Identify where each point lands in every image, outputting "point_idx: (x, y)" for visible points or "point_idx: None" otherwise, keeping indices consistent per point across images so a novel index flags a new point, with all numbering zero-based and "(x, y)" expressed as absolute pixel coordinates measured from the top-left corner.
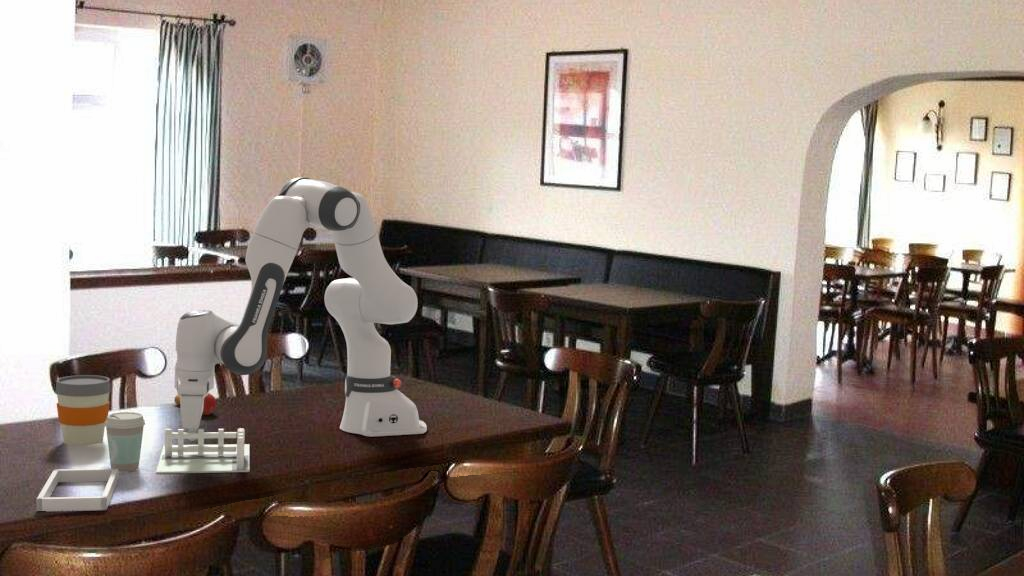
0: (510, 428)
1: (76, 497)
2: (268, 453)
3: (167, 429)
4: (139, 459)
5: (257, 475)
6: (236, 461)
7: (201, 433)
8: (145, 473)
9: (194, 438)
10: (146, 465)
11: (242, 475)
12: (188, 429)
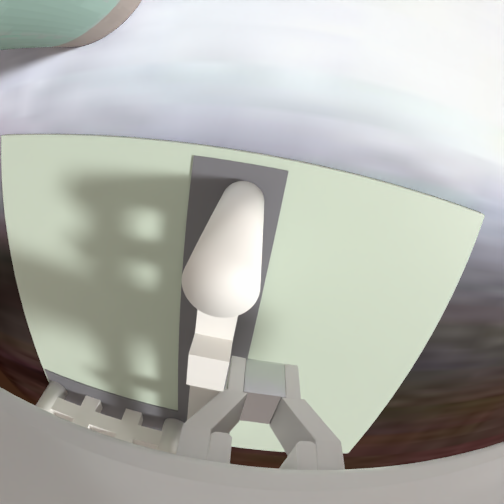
0: None
1: None
2: (245, 465)
3: (224, 275)
4: (47, 46)
5: (38, 394)
6: (132, 407)
7: None
8: (14, 91)
9: (226, 384)
10: (125, 76)
11: (29, 372)
12: (199, 410)
